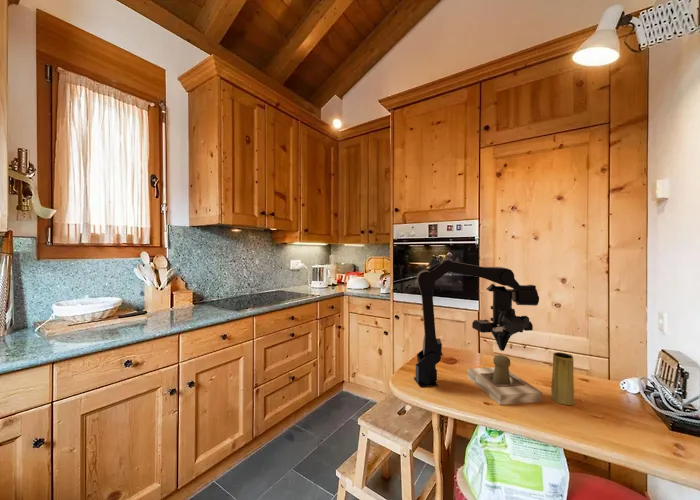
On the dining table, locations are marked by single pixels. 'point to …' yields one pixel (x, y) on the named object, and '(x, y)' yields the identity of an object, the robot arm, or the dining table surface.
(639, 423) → the dining table surface
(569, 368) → the vase
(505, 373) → the olive tall rounded piece
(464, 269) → the robot arm
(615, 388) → the dining table surface
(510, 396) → the socket board
